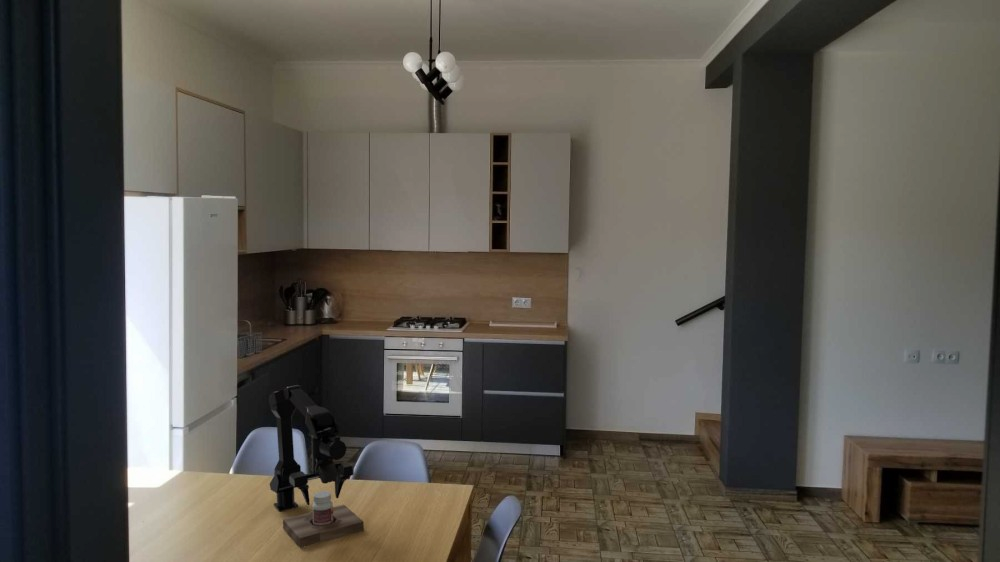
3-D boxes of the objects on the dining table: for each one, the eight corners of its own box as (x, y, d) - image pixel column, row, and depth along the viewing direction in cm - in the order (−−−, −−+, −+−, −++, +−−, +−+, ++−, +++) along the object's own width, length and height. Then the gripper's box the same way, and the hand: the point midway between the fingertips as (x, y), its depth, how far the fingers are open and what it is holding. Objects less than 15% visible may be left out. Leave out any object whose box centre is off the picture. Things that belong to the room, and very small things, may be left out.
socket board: (283, 528, 215) (282, 519, 215) (344, 513, 226) (344, 504, 226) (299, 548, 202) (299, 538, 201) (363, 530, 213) (363, 521, 213)
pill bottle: (336, 530, 213) (335, 495, 212) (316, 535, 210) (315, 499, 209) (329, 523, 218) (328, 489, 217) (310, 528, 215) (309, 493, 214)
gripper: (299, 465, 200) (301, 517, 201) (360, 453, 210) (361, 502, 212) (287, 455, 209) (289, 505, 210) (346, 444, 220) (347, 491, 221)
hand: (322, 501), depth 213 cm, fingers open, 9 cm apart
